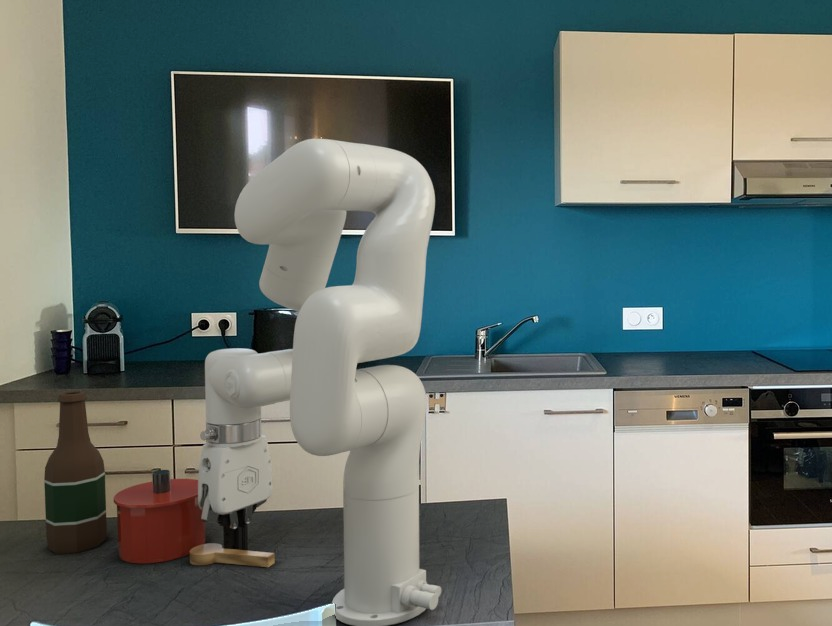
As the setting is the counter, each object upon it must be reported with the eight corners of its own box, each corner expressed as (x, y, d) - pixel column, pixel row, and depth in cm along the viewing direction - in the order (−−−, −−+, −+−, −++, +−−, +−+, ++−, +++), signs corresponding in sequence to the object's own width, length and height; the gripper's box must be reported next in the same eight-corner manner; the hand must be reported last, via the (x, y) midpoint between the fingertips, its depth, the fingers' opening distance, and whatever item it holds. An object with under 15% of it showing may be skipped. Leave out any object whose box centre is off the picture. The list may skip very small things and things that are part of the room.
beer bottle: (77, 557, 116) (71, 398, 115) (33, 552, 118) (27, 396, 116) (118, 537, 124) (114, 389, 122) (77, 533, 125) (72, 386, 124)
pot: (221, 541, 123) (220, 488, 122) (152, 569, 112) (151, 511, 112) (172, 529, 128) (171, 478, 127) (101, 555, 117) (99, 499, 117)
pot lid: (225, 492, 122) (225, 466, 122) (150, 517, 111) (149, 489, 111) (171, 481, 128) (171, 456, 127) (94, 504, 116) (93, 477, 116)
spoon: (280, 559, 116) (280, 549, 116) (262, 571, 112) (262, 560, 112) (203, 552, 118) (203, 542, 118) (182, 564, 114) (182, 553, 114)
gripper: (207, 446, 108) (209, 574, 109) (291, 424, 121) (292, 538, 123) (171, 439, 111) (173, 564, 112) (257, 418, 125) (258, 529, 126)
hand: (235, 550), depth 117 cm, fingers closed
